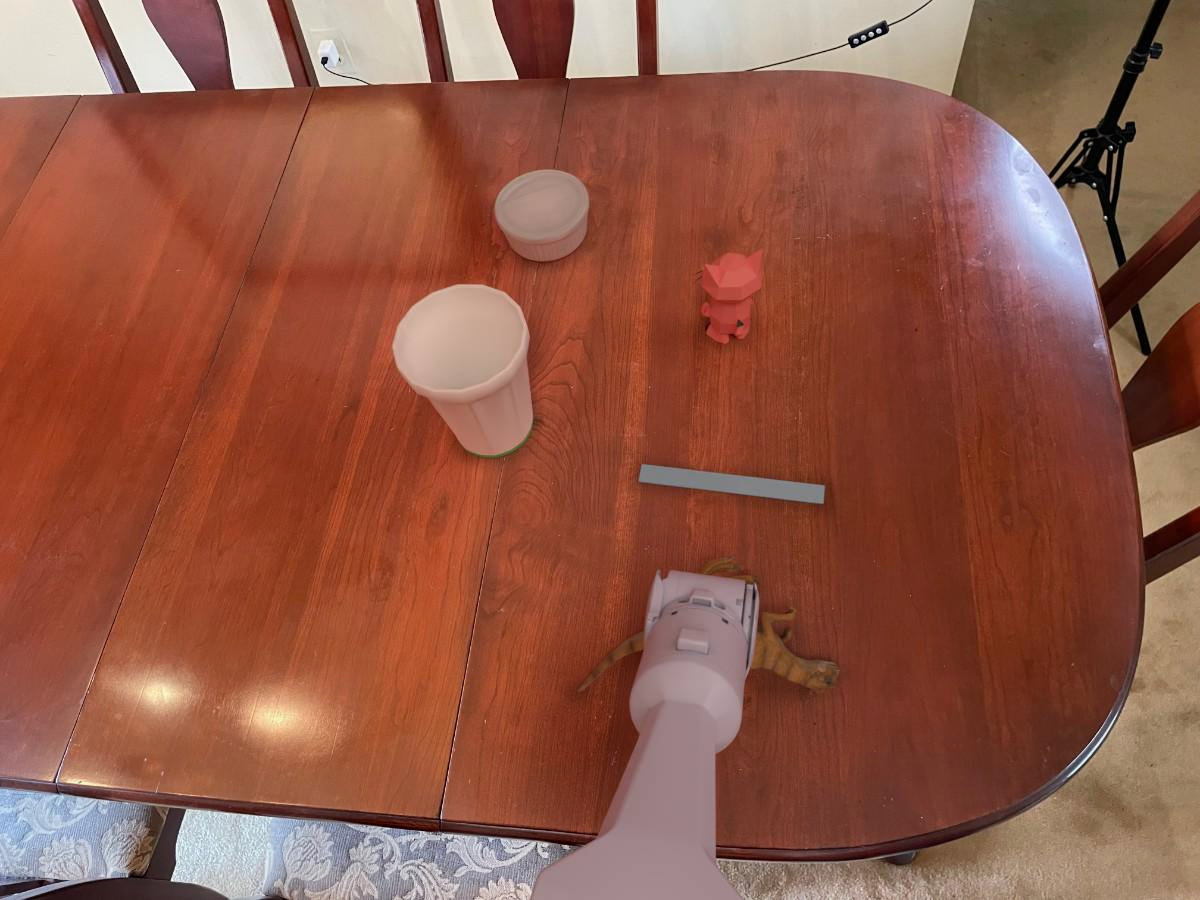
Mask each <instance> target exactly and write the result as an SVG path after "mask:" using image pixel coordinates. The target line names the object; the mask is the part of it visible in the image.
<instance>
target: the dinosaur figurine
mask: <svg viewBox="0 0 1200 900" xmlns="http://www.w3.org/2000/svg"><path fill="white" fill-rule="evenodd" d="M734 559H735V556H722V557H717V558H712V559H709V560H707V561H706V562H705V563H704V564H703V565H701V567H700V568H699V570H698V572H697V574H703V575H711V576H713V574H718V573H726V574H727V573H729V574H731V573H736V572H738V571H739V569H738V568H739V567H741V564H740V563H735V562H731V561H733V560H734ZM726 578H732V579H739V580H746V581H745V590H746V586H747V584H750V585H753V584H754V583H756V585H757V586H759V585H761V584H762V582H760V581H758V580H759V579H760V577H759V576H757V575H756V576H752V575H750V574H745V575H730V576H727V577H726ZM786 609H787V611H786V612H785V613H784V614H780V613H775V612H767V611H766V612H765V611H764V612H762V613H761V618H760V619H761V625H757V632H756V640H755V648H754V656H753V661H752V664H751V667H750V669H749V670H757V669H758V670H761V669H762V670H763V669H764V670H767V671H770V672H773V673H774V674H776V675H778V676H779V677H782V678H784V679H785V680H787V681H789V682H791V683H794V684H797V685H800V686H803V687H804V688H808V689H809V690H811V691H812V692H814V694H824V693H825V692H826V690H827V689H828V690H830V689H831V690H832V689H834V690H837V687H836V685H837V683H838V677H839V674H840V668H839V667H838V666H837V664H836V662H832V661H827V660H823V659H817V658H814V659H805V658H802V657H799V656H796V655H795V654H793V653H792V652H791V651H790V650H789V649H788V647H787V646H786V645H785V644H786V643H787V642H788V641H789V640H791V638H792V633H793V632H792V629H791V627H789V628H785V629H784V635H783V637H780V635H779V634H778V633H777V632H775V631H774V629H773V623H776V622H786V623H790V622H791V621H793V620H794V619H795V618H796V613H797V611H798V610H797V608H795V607H794V606H787V607H786ZM640 651H644V630H642V631H639V632H638V633H636V634H634V635H632V636H630V637H628V638H626V639H625V640H624V641H623V642H621V643H620V644H619V645H617V647H615V648H614V649H613V650H612V651H610V653H608V654H607V655H606V656H605V657H604V658H603V659H601V661H600V662H599V663H598V665H597V666H596V667H595V668H594V669H593V670H592V671H591V673H590V674H589V675H588V677H586V679H585V680H584V681H583V683H582V684H581V685H580V687H579V688H578V689H577V693H581V692H583V691H584V690H586V688H588V686H589V685H591V684H592V683H593V682H595V680H596V679H598V678H599V677H600V676H601V674H602V673H604V671H605V670H607V669H608V668H609V667H610V666H612V665H613V664H614V663H615V662H617V661H619V660H620V659H622V658H623V657H626V656H628V655H630V654H633V653H636V652H640Z"/></svg>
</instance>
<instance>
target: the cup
mask: <svg viewBox="0 0 1200 900" xmlns="http://www.w3.org/2000/svg"><path fill="white" fill-rule="evenodd" d="M395 329H396V330H395V333H394V338H393V341H392V344H391V350H392V355H393V358H394V362H395V365H396V370H397V371H398V372H399V374H400V376H401V378H403V380H404V381H405V382H406V383H407V384H408V385H409V387H410V388H411V389H412V390H413V391H414V392H415V394H416V395H419V396H422V397H424V398H426V399H427V400H428V401H429V403H430V404H431V405H432V406H433V408H434V409H435V411H436V412H437V413H438V414H439V415H440V417H441V418H442V420H443V421H444V422H445V424H446V425H447V426H448V427H449V429H450V430H451V432H452V433H453V434H454V435H455V437H456V439H457V442H458V443H459V444H460V446H462V448H463V449H464V450H465V451H466V452H467V453H469V454H471V455H474V456H477V457H479V458H486V459H497V458H500V457H504V456H506V455H509V454H511V453H513V452H515V451H516V450H517V449H519V448H521V447H522V446H523V445H524V444H525V443H526V441H527V439H528V438H529V436H530V435H531V432H532V430H533V426H534V418H535V417H534V410H533V404H532V403H533V401H532V393H531V385H530V376H529V375H530V374H529V368H528V367H529V366H528V352H529V345H530V340H531V334H530V332H529V327H528V323H527V321H526V318H525V315H524V312H523V309H522V307H521V306H520V304H518V303H517V302H516V301H515V300H514V299H513V298H512V297H511V296H509V294H508V293H506V292H505V291H503V290H500V289H497V288H494V287H491V286H489V285H486V284H481V283H480V284H479V283H478V284H472V283H471V284H470V283H469V284H468V283H467V284H466V283H465V284H464V283H463V284H461V283H459V284H454V285H451V286H448V287H444V288H441V289H438V290H435V291H432V292H430V293H429V294H428V295H426V296H425V297H423V298H421V299H420V300H419V301H417V302H416V303H414V304H413V305H411V307H410V308H409V309H408V310H407V312H406V314H405V315H403V318H402V319H401V320H400V321H399V323H398V324H397V326H396V328H395Z"/></svg>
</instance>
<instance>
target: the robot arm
mask: <svg viewBox="0 0 1200 900" xmlns="http://www.w3.org/2000/svg"><path fill="white" fill-rule="evenodd" d="M745 581H746V580H739V579H732V578H727V577H724V576H718V575H703V574H698V573H696V572H689V571H682V570H676V569H675V570H674V569H670V570H669V571H668V573H667V577H666V578H663V579H662V571H661V569H657V570H656V573H655V575H654V578H653V580H652V584H651V587H650V590H649V593H648V598H647V603H646V609H645V610H646V611H645V618H644V627H643V631H644V650H642V651H643V652H642V654H641V657H640V661H639V665H638V667H637V672H636V675H635V678H634V681H633V684H632V688H631V691H630V695H629V700H628V701H629V702H628V703H629V713H630V714H629V715H630V717H631V721H632V723H633V726H634V728H635V729H636V731H637V733H638V734H639V735H638V738H637V741H636V744H635V746H634V748H633V751H632V753H631V755H630V757H629V760H628V762H627V765H626V767H625V770H624V772H623V774H622V777H621V778H620V782H619V784H618V787H617V789H616V791H615V793H614V796H613V798H612V800H611V803H610V805H609V807H608V810H607V812H606V815H605V817H604V820H603V821H602V825H601V827H600V829H599V832H598V834H597V836H596V838H595V839H593V840H591V841H590V842H588V843H586V844H584V845H583V846H581V847H578V848H577V849H575V850H574V851H572V852H570V853H569V854H566V855H565V856H563V857H562V858H561V857H560V859H558V860H556V861H554V862H553V863H551V864H549V865H548V866H546V867H543V869H541V870H540V871H539V873H538V874H537V876H536V878H535V881H534V884H533V887H532V891H531V894H530V897H529V900H745V899H744V897H743V896H742V895H741V894H740V893H739V891H738V890H737V889H736V888H735V886H734V885H733V884H732V883H731V882H730V880H729V879H728V878H727V876H726V875H725V874H724V872H722V871H721V869H720V868H719V867H718V864H717V817H716V816H717V814H716V813H717V811H716V810H717V809H716V807H717V806H716V804H717V803H716V802H717V801H716V797H717V796H716V795H717V794H716V789H717V788H716V787H717V786H716V784H717V783H716V782H717V781H716V780H717V779H716V755H717V754H719V753H720V752H722V751H724V750H725V749H726V748H727V747H728V746H729V745H730V744H732V742H733V741H734V740H735V738H736V737H737V735H738V733H739V731H740V729H741V724H742V719H743V708H744V695H745V683H746V680H747V677H748V675H749V672H750V670H751V669H750V667H751V664H752V661H753V656H754V648H755V640H756V632H757V626H758V622H759V613H760V612H759V611H760V594H759V592H760V591H758V585H756V583H754V584H753V585H750V584H747V586H746V589H745Z"/></svg>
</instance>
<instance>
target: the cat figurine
mask: <svg viewBox="0 0 1200 900" xmlns="http://www.w3.org/2000/svg"><path fill="white" fill-rule="evenodd" d="M763 265H764V247H762V248H761V249H759V250H757V251H756V252H754V253H753V254H750V256H746V255H745V254H743V253H735V252H724V253H723V254H721V255H719V256H718V257H717V258H716V259H715V260H713V261H711V262H710V263H709V264H707V263H704V267H703V270H700V271H697V272H696V273H694V274H693V276H694V275H696V274H699V273H702V275H701V276H700V277H697V279H696V280H695V281H694V282H693V284H692V285H694V284H695V283H696V282H698V280H700V279H701V281H700V287H701V288H702V290H704V291H705V293H706V294H707V295H708V296H710V297H711V299H710V302H709V301H706V302H705V303H704V304H702V305H701V309H700V313H701V315H702V316H703V317H705V318H709V321H710V322H708V323H707V324H706V325H704V326H705V334H706V335H707V336H708V337H710V338H711V339H713V340H714V341H715V342H718V343H721V344H723V345H726V344H727V343H729V342H730V335H734V336H735V337H736V339H737V340H744V339H745V337H746V336H747V335H748V333H749V331H750V326H751V306H752V305H753V304H754V303H755V300H754V296H753V295H755V294H756V293H757V292H758V291H759V290H761V288H762V287H763V267H764V266H763ZM709 303H710V304H709Z"/></svg>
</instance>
